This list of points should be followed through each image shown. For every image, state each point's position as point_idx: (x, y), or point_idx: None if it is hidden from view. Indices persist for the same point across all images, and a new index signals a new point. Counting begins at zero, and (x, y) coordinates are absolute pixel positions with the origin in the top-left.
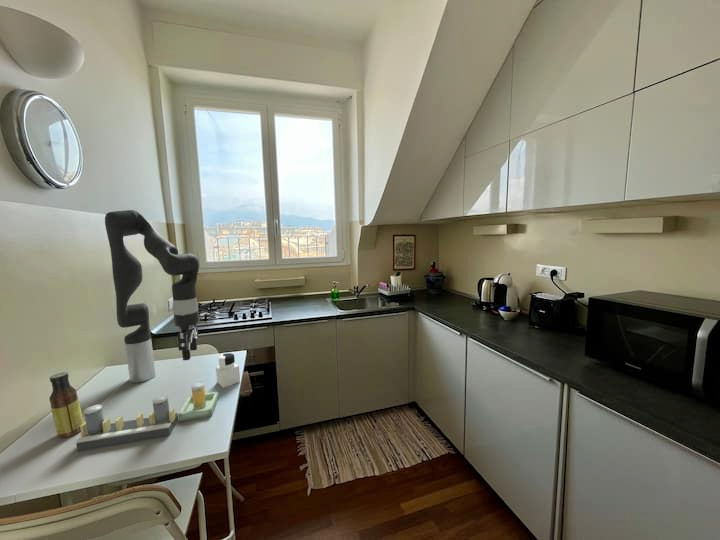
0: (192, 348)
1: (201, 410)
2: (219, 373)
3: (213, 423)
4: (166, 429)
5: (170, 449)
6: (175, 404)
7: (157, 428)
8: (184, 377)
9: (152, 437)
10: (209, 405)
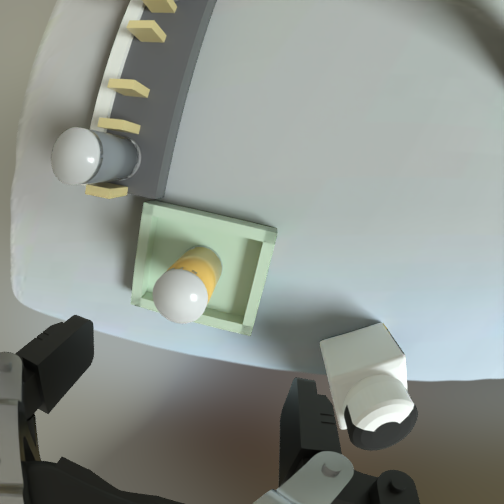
0: (291, 401)
1: (135, 276)
2: (355, 360)
3: (102, 296)
4: None
5: (43, 195)
6: (288, 177)
7: None
8: (490, 208)
9: None
10: None
